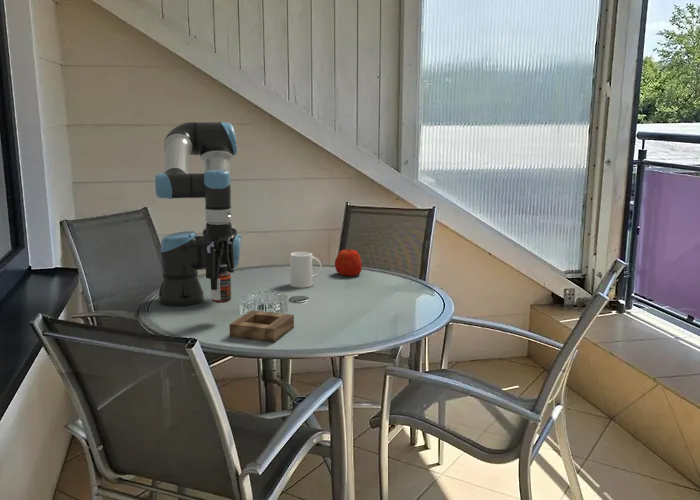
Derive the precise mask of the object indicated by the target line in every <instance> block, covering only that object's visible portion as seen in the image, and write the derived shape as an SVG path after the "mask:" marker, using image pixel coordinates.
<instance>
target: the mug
mask: <svg viewBox="0 0 700 500" xmlns="http://www.w3.org/2000/svg"><path fill="white" fill-rule="evenodd" d="M313 261H316V262H318V264H319V266H320V269H319V271H318V272H317V273H316V274H315V273H314V274H313ZM322 269H323V268H322V262H321V261H320V260H319V259H318V258H317V257H315V256H314V255H313V253H312V252H308V251H295V252H291V253H290V284H289V286H291V287H292V288H297V289H299V288H300V289H303V288H305V289H307V288H311V287H312V286H314V283H313V279H314V278H317V277H318V276H319V275H320V274H321V272H322Z"/></svg>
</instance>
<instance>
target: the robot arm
mask: <svg viewBox="0 0 700 500" xmlns="http://www.w3.org/2000/svg"><path fill="white" fill-rule="evenodd" d="M163 151H164V153H165V157H164V158H165V159H164V164H163V165H164V167H163V173H158V174H156V175H155V179H154V180H155V181H154V182H155V183H154V185H155V187H154V188H155V195H156V197H157V198H158V199H167V200H171V199H201V198H202V199H204V201H205V205H204V206H205V209H204V210H205V222H206V224H205V228H203V230H202V235H197V233H196V231H194V230H193V231H192V230H190V231H189V230H187V231H179V232H174V233H169V234H167V235H165V236H164V237H162V239H161V240H160V241H161V242H160V253H161V271H162V272H161V273H162V280H161V285H160V288H159V291H158V303H160V304H161V305H164V306H171V307H172V306H174V307H181V306H182V307H183V306H191V305H195V304H198V303H201V302H202V301H204V299H205V294H204V290H203V288H202V285H201V282H200V280H199V275H198V272H199V270H200V271H202V270H203V271H205V278H206V279H208V280H210V294H211V296H210V298H211V300H212V299H214V300H221V296H220V279H218V275H219V266H220V264H226V265H227V270H228V271H229V272H230V274H231V273H233V274H234V273H235V272H234V271H235V268H237V267H238V266H239V262H240V252H241V243H242V235H241V234H239V233H238V231H237V228H236V227H234V226H233V217H232V215H233V213H232V195H231V194H232V193H231V190H232V189H231V183H232V181H231V173H230V172H231V170H230V163H232V161H233V160H234V156H236V155H237V154H238V146H237V139H236V134H235V128H234V126H233V125H232V123H230V122H223V121H217V122H216V121H215V122H213V121H212V122H210V121H208V122H203V121H202V122H200V121H199V122H193V121H188V122H185V123H181V124H179V125H177V126H175V127H174V128H172V129H171V130H170V131H169V132H168V133H167V134H166V136H165V138H164V140H163ZM190 156H200V161H201V162H203V163H204V172H203V173H189V166H190V165H189V163H190V162H189V161H190V159H189V158H190Z"/></svg>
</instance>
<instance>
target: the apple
mask: <svg viewBox="0 0 700 500" xmlns="http://www.w3.org/2000/svg"><path fill="white" fill-rule="evenodd" d="M362 265H363V263H362V258H361V255H360V254H359V252H358V251H357V250H354V249H349V248H348V249H341V250H340V251H339V252H338V253H337V256H336V258H335V260H334V267H335V270H336V272H337V274H339V275H341V276H346V277H354V276H359V275H360V274H361V272H362V268H363V267H362ZM358 274H359V275H358Z"/></svg>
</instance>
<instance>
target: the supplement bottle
mask: <svg viewBox="0 0 700 500" xmlns="http://www.w3.org/2000/svg"><path fill="white" fill-rule="evenodd" d="M231 275H232V274H231V273H230V272H229V271H228V270H227V265H226V264H220V266H219V275H218V279H220V296H221V300H214V299H211V302H213V303H217V304H224V303H228V302H230V301H231V300H232V282H231V281H232V278H231Z"/></svg>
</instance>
